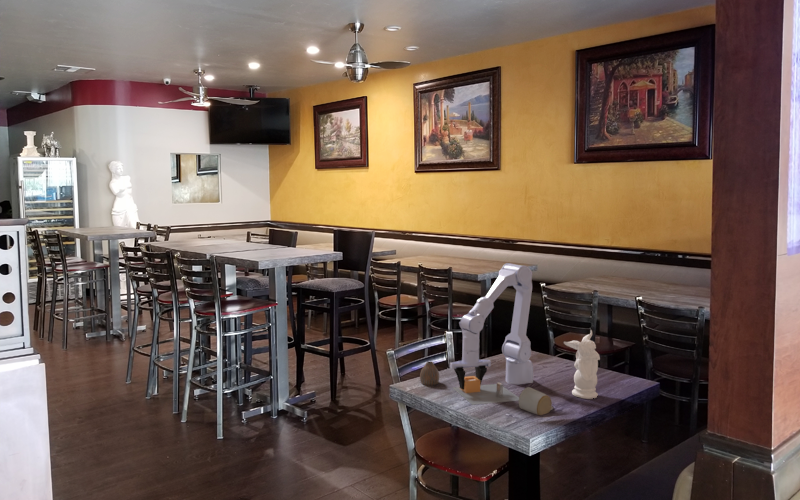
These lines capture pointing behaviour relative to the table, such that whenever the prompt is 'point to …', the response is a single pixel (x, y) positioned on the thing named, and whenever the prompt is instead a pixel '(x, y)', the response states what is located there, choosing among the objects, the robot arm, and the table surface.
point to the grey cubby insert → (499, 390)
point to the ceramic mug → (535, 401)
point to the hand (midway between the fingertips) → (469, 387)
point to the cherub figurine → (585, 367)
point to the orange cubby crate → (471, 384)
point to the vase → (429, 374)
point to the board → (487, 395)
